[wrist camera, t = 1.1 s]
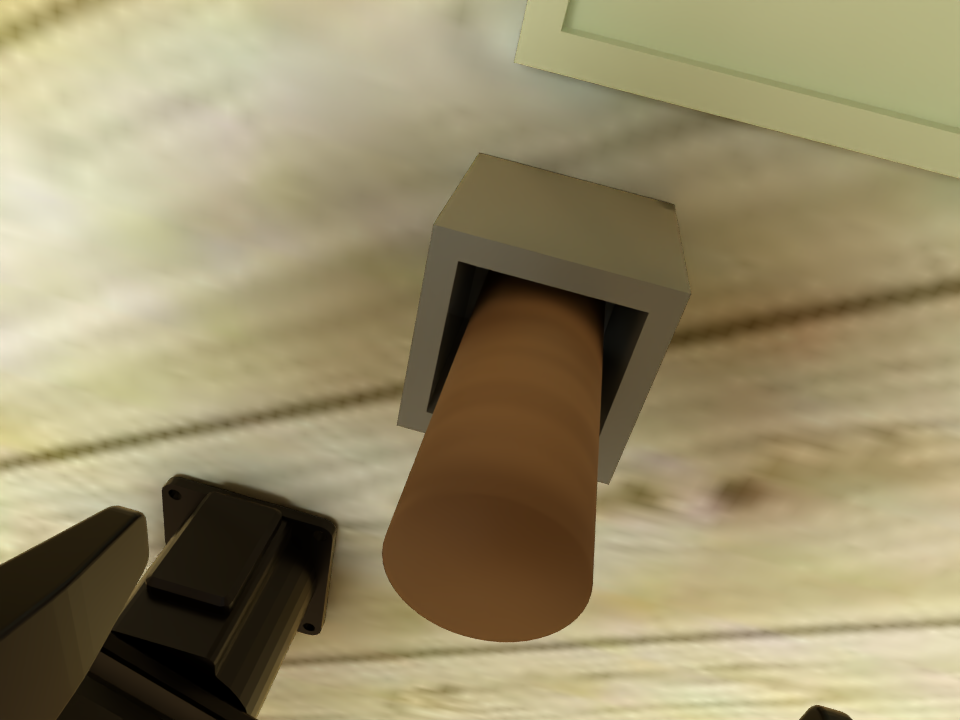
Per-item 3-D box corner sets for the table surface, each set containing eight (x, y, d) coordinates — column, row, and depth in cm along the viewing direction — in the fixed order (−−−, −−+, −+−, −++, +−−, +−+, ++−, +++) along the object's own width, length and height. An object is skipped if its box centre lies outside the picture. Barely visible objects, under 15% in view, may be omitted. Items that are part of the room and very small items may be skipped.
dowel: (587, 337, 19) (558, 663, 10) (481, 309, 19) (370, 608, 11) (621, 238, 17) (622, 530, 9) (505, 207, 17) (397, 467, 9)
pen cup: (611, 367, 20) (608, 484, 16) (443, 321, 20) (396, 425, 16) (674, 204, 17) (691, 294, 13) (478, 152, 17) (433, 224, 13)
